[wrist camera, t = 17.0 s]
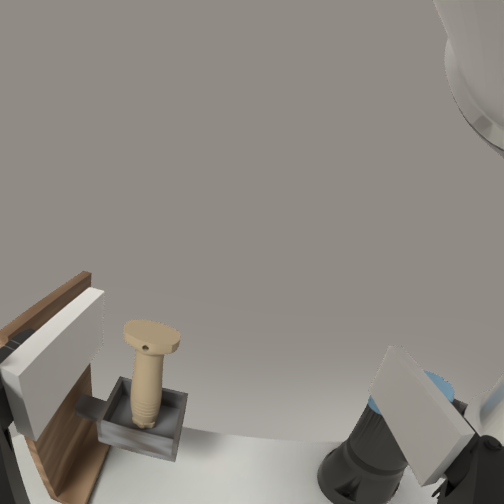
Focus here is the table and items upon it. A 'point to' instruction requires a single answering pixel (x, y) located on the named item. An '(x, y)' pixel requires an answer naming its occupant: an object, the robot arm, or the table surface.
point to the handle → (148, 366)
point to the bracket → (91, 416)
